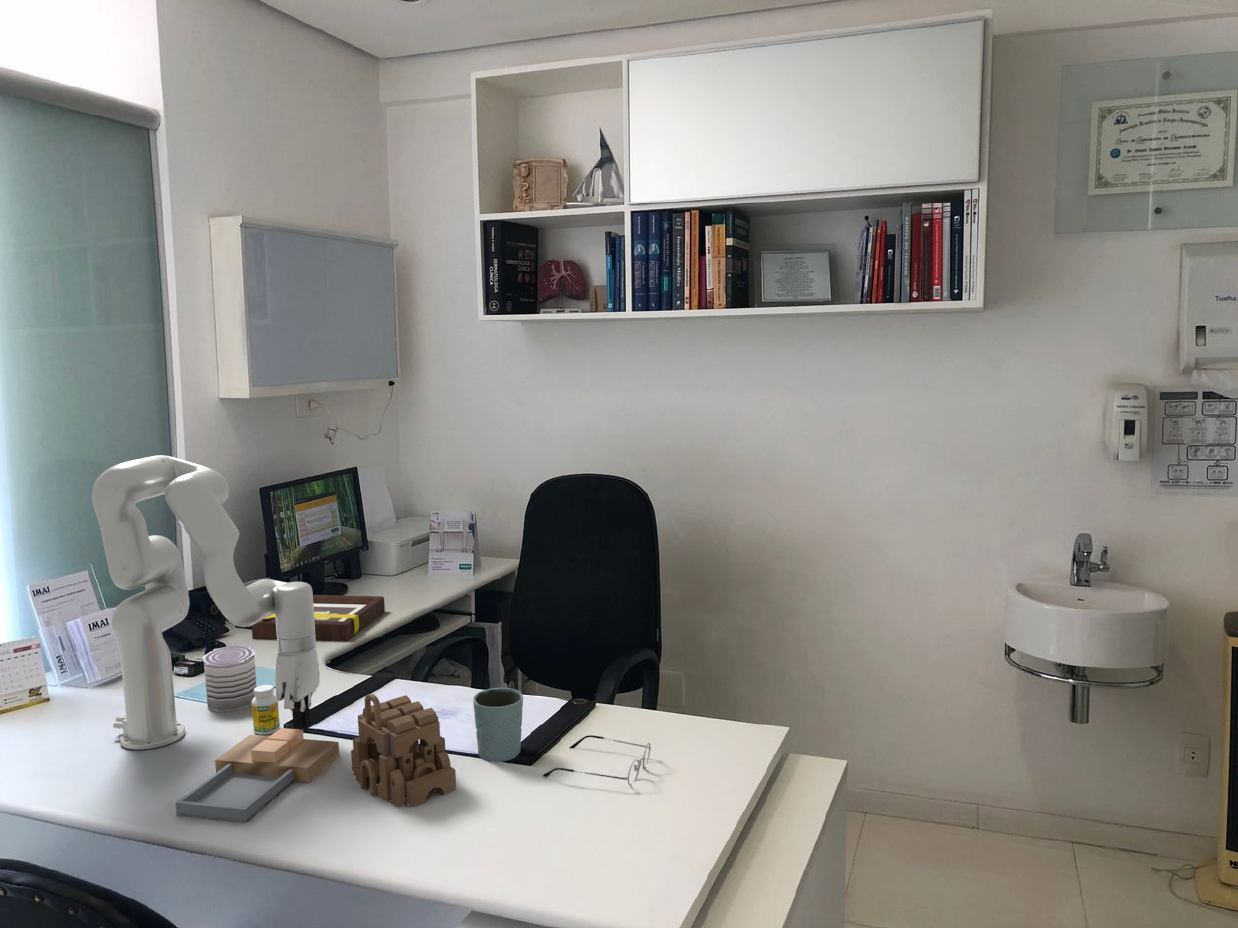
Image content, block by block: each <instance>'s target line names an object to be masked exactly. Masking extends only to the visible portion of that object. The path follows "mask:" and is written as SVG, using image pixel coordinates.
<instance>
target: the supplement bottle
mask: <svg viewBox="0 0 1238 928" xmlns="http://www.w3.org/2000/svg"><path fill="white" fill-rule="evenodd" d="M274 689H275V688H274V686H273V685H270V684H264V685H263V684H261V685H257V686H256V688H254V695H255V697H254V698H253V700H252V705H251V711H252V713H251V714H252V725H253V732H254V733H255V735H256V734H257V735H260V736H266V735H270V734H271V735H272V734H274V733H275V732H276V731H278V730H279V729H280V728H281V727H280V726H281V723H280V713H279V701H278V700H277V698H276V694H274Z"/></svg>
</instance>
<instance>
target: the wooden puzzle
mask: <svg viewBox="0 0 1238 928" xmlns="http://www.w3.org/2000/svg"><path fill="white" fill-rule="evenodd" d="M372 704H373V705H372ZM440 724H441V723H440V721H439V716H438V715H437V712H436V711H435V709H434V708H432V707H429V708H425V709H424V706H423V705H422V703H421V702H420V701H413V702H412V700H411V699H410V697H409V696H408V695H406V694H404V695H402V696H398V697H394V698H392V699H388V700H386V701H383V702H380V700H379V698H378V696H377V695H375V694H374V693H369V694H367V695H366V696H365V698H364V707H363V709H362V713H360V714H358V715H357V726H358V727H357V728H358V737H355V738H353V739H352V748H353V749H351V750H350V757H351V758H350V759H351V771H352V772H353V776H354V780H355V781H356V782H357V783H359V784H360V789H361V790H363V791H364V790H366V789H367V788H368V787H369V789H370V791H369V792H370V796H371V797H375V796H378V797H379V798H380V799H382V800H384V801H385V802H390V801H391V804H392V805H393V806H395V807H396V808H400V807H402V806H404V805H408V806H409V807H411V808H415V807H417V806H420V805H422V804H425V801H426V798H427V796H428V794H429V793H430V791H431V792H433V793H436V792H440V793H441V794H442V795H447V794H449V793H452V792H454V791H457V778H456V777H457V775H456V769H455V768H454V767H452V765H451V764H452V763H451V759H450V756H449V754H448V753H447V751H446V739H445V737H444V736H441V729H440V728H441V725H440Z"/></svg>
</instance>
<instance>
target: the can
mask: <svg viewBox="0 0 1238 928" xmlns="http://www.w3.org/2000/svg"><path fill="white" fill-rule="evenodd" d="M255 655H256V652H255V650H254V648H253V647H252V646H249V645H248V646H247V645H239V644H232V645H228V646H224V647H219V648H214V649H213V650H211V651H209V652H207V653H206V654H204V655H202V657H201V658H202V661H203V667H204V669H203V670H204V677H205V689H206V690H205V692H206V693H205V694H206V703H207V709H208V711H209V710H210V711H213V712H218V713H223V712H236V711H239V710H244V709H245V708H250V707H252V700H253V698H254V697H255V695H254V688H256V687H257V676H256V675H257V674H256V662H255Z"/></svg>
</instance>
